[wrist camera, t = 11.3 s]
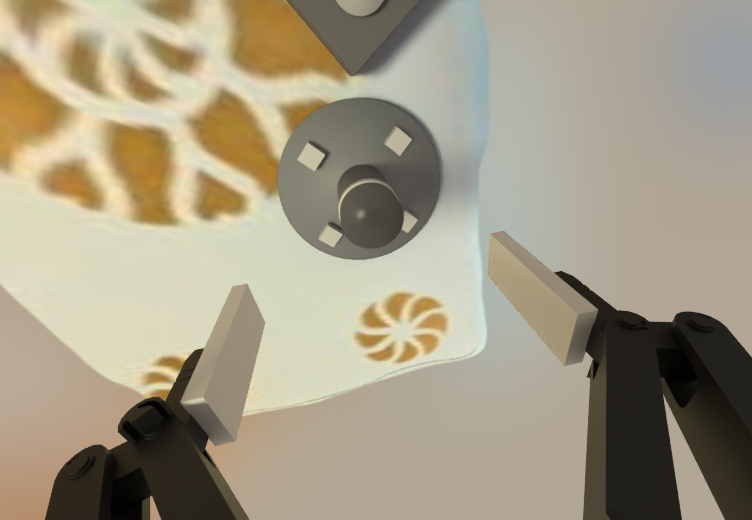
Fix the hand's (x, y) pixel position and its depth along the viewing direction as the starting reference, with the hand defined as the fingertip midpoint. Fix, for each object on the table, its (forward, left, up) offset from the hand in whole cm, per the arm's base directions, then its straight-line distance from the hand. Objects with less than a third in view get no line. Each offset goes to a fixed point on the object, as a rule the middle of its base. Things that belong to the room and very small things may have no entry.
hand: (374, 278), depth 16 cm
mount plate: (+1, +1, -21) cm, 21 cm away
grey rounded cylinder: (+1, +1, -20) cm, 20 cm away
